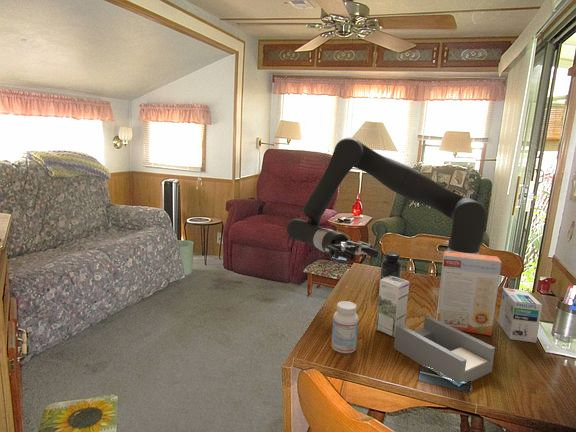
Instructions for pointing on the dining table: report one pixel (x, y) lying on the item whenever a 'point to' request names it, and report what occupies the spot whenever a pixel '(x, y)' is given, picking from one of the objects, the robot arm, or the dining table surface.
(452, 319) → the cracker box
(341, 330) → the pill bottle
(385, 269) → the supplement bottle
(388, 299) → the syrup box
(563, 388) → the dining table surface
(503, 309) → the light bulb box
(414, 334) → the trap lane
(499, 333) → the dining table surface
